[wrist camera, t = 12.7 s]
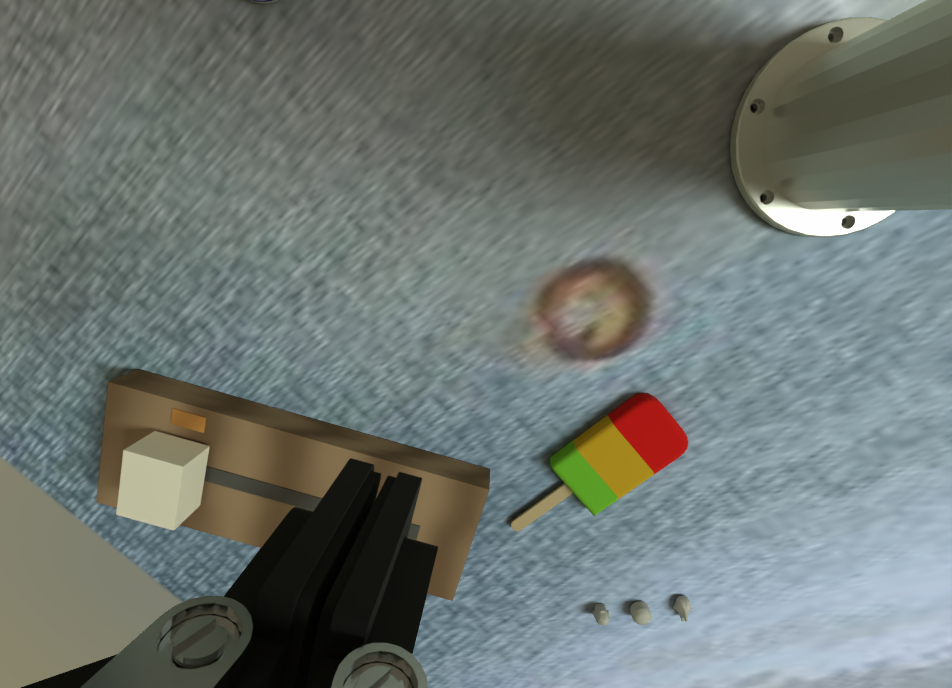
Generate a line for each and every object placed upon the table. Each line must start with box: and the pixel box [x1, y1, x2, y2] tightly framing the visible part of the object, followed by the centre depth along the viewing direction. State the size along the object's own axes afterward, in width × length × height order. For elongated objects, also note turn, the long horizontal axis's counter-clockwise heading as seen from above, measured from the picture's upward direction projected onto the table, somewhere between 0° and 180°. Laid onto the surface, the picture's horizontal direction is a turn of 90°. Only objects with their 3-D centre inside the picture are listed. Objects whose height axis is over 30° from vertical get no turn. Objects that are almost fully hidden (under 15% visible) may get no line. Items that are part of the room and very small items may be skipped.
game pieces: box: [592, 596, 692, 625], centre depth 40 cm, size 8×2×2 cm, turn 94°
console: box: [96, 369, 490, 601], centre depth 37 cm, size 28×10×3 cm, turn 74°
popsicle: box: [511, 393, 688, 531], centre depth 37 cm, size 6×15×2 cm, turn 131°
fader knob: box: [116, 431, 210, 530], centre depth 34 cm, size 4×5×3 cm
